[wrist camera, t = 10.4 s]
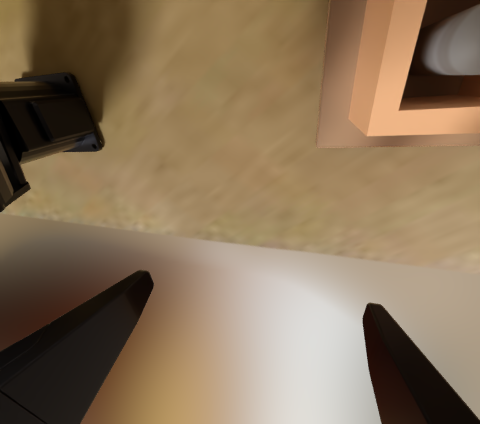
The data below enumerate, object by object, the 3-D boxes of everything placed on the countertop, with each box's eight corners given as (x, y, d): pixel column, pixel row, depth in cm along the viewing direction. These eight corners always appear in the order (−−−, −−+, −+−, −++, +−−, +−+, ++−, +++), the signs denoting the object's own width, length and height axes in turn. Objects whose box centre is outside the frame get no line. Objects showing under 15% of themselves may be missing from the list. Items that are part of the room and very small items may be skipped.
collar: (348, 118, 14) (366, 136, 10) (370, -21, 11) (410, -82, 7) (471, 113, 12) (554, 131, 8) (540, -53, 9) (733, -159, 5)
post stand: (315, 142, 17) (321, 174, 11) (333, -51, 12) (359, -161, 6) (479, 139, 14) (586, 177, 9) (593, -109, 9) (1012, -380, 4)
